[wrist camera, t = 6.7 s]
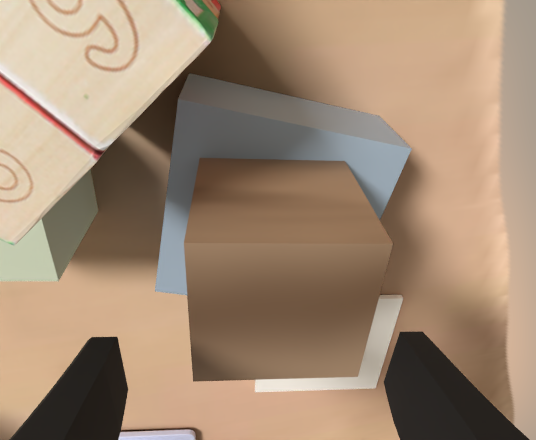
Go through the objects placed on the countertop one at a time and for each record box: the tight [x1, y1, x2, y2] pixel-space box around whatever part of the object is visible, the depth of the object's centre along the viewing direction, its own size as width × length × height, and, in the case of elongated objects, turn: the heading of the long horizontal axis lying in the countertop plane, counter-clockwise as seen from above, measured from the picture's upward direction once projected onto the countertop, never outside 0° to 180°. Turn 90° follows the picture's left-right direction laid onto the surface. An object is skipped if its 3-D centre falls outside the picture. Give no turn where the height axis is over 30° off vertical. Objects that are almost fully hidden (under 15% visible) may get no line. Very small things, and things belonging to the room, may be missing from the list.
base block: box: [155, 73, 411, 295], centre depth 17 cm, size 8×8×4 cm
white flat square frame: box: [255, 295, 403, 392], centre depth 24 cm, size 8×8×1 cm
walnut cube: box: [184, 158, 393, 381], centre depth 13 cm, size 5×5×5 cm
